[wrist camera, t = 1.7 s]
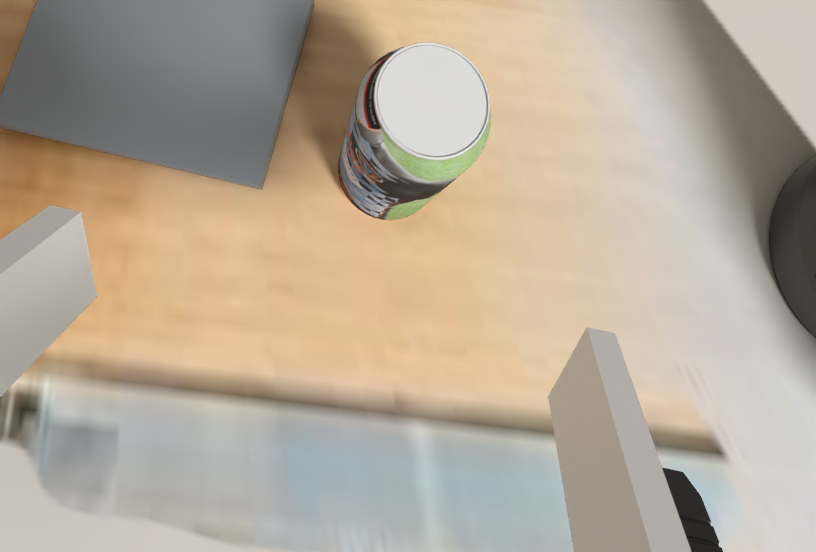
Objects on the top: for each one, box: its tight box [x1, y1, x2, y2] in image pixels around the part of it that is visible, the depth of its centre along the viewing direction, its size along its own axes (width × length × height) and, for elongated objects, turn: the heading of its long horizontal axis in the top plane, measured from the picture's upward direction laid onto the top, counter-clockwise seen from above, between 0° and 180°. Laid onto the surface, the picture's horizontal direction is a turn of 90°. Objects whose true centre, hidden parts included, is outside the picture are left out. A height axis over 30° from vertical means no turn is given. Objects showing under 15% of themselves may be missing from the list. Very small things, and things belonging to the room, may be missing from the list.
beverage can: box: [338, 42, 491, 220], centre depth 27 cm, size 6×7×12 cm
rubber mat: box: [0, 0, 314, 190], centre depth 32 cm, size 16×13×1 cm
